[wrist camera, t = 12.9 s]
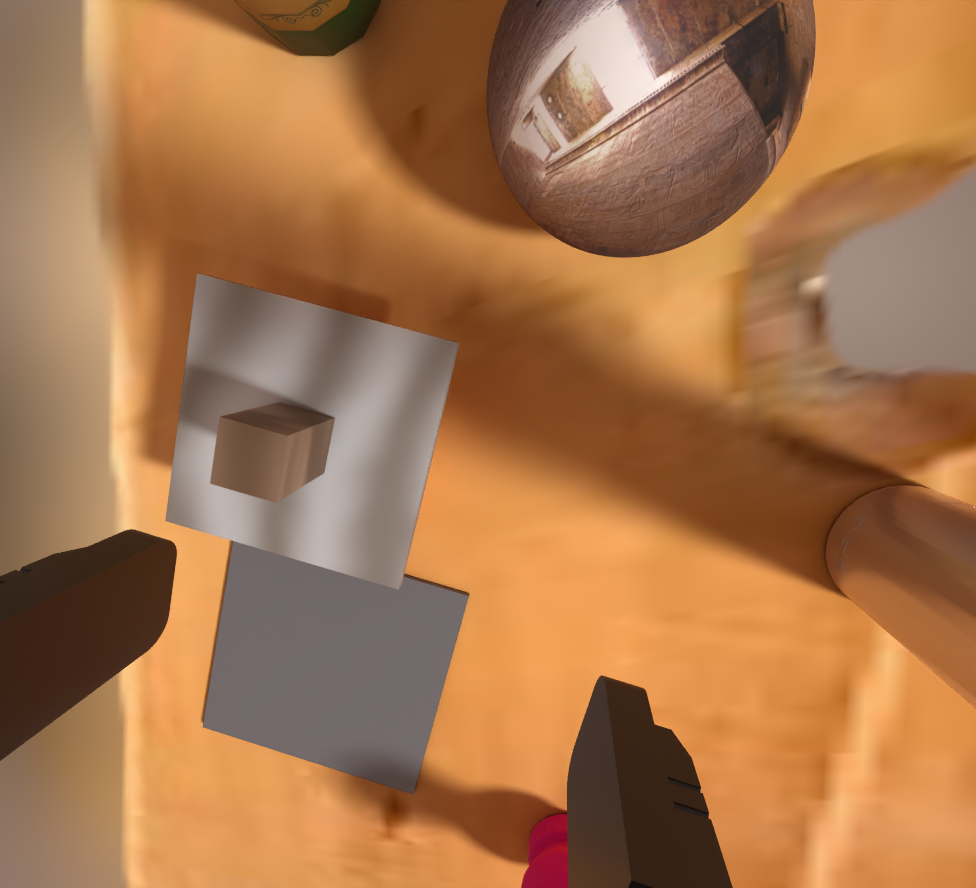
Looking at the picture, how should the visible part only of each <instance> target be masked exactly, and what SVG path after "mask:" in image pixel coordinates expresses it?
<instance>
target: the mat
mask: <svg viewBox="0 0 976 888" xmlns="http://www.w3.org/2000/svg"><path fill="white" fill-rule="evenodd" d="M468 597H469V593H465V592H462V591H459V590H455V589H452V588H449V587H445V586H442V585H439V584H435V583H432V582H428V581H425V580H422V579H418V578H415V577H412V576H408V575H405V574H404V577H403V581H402V584H401V586H400V588H399V590H398V589H394V588H391V587H388V586H384V585H381V584H377V583H374V582H371V581H367V580H364V579H360V578H357V577H354V576H350V575H347V574H344V573H340V572H337V571H333V570H330V569H327V568H323V567H320V566H316V565H313V564H310V563H306V562H303V561H299V560H296V559H293V558H289V557H286V556H283V555H279V554H276V553H272V552H269V551H266V550H262V549H259V548H255V547H252V546H249V545H245V544H242V543H239V542H235V541H233V545H232V551H231V557H230V563H229V569H228V576H227V582H226V588H225V594H224V600H223V606H222V612H221V618H220V624H219V631H218V637H217V643H216V649H215V655H214V661H213V667H212V673H211V679H210V686H209V692H208V698H207V704H206V710H205V716H204V722H203V727H204V728H207V729H210V730H213V731H217V732H220V733H223V734H226V735H229V736H232V737H235V738H238V739H242V740H245V741H248V742H251V743H254V744H257V745H260V746H264V747H267V748H270V749H273V750H276V751H279V752H282V753H285V754H289V755H292V756H295V757H298V758H301V759H304V760H307V761H310V762H314V763H317V764H320V765H323V766H326V767H329V768H332V769H335V770H339V771H342V772H345V773H348V774H351V775H354V776H357V777H361V778H364V779H367V780H370V781H373V782H376V783H379V784H382V785H386V786H389V787H392V788H395V789H398V790H401V791H404V792H407V793H411V794H413V793H414V790H415V786H416V783H417V779H418V776H419V772H420V768H421V765H422V761H423V758H424V754H425V751H426V747H427V743H428V740H429V736H430V733H431V729H432V726H433V722H434V718H435V715H436V711H437V708H438V704H439V700H440V697H441V693H442V690H443V686H444V683H445V679H446V675H447V672H448V668H449V665H450V661H451V658H452V654H453V650H454V647H455V643H456V640H457V636H458V632H459V629H460V625H461V622H462V618H463V615H464V611H465V607H466V604H467V600H468Z"/></svg>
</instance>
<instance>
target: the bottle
mask: <svg viewBox="0 0 976 888" xmlns="http://www.w3.org/2000/svg"><path fill="white" fill-rule="evenodd" d="M234 1H235V2H236V3H237V4H238V5H239V6H240V7H241V8H243V9H244V10H245V11H246V12H247V13H248V14H249V15H250V16H251V17H252V18H253V19H254V20H255V21H256V22H257V23H259V24H260V25H261V26H262V27H263V28H264V29H265V30H266V31H267V32H268V33H269V34H270V35H271V36H273V37H274V38H276V39H277V40H279V41H280V42H282V43H283V44H284V45H286V46H287V47H289V48H290V49H292V50H293V51H295V52H296V53H298V54H299V55H316V56H334V55H335V54H337V53H338V52H340V51H342V50H343V49H345V48H346V47H348V46H349V45H351V44H352V43H354V42H355V41H357V40H358V39H360V38H361V37H363V35H364V33H365V31H366V30H367V28H368V26H369V24H370V22H371V20H372V18H373V16H374V14H375V12H376V10H377V8H378V6H379V4H380V2H381V0H234Z"/></svg>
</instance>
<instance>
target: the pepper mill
mask: <svg viewBox="0 0 976 888" xmlns="http://www.w3.org/2000/svg"><path fill="white" fill-rule="evenodd" d="M521 888H568V830H567V814H557V815H553V816H549V817H546V818H545V819H543V820H542V821H540V822H539V823H538V824H537V825H536V826H535V827H534V829H533V831H532V833H531V835H530V840H529V867H528V869H527V870H526V872H525V874H524V877H523V881H522V887H521Z"/></svg>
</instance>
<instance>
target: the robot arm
mask: <svg viewBox="0 0 976 888" xmlns="http://www.w3.org/2000/svg"><path fill="white" fill-rule="evenodd" d="M176 557H177V549H176V546H175V544H174V543H173V542H172V541H169V540H166V539H163V538H160V537H156V536H153V535H150V534H147V533H144V532H140V531H137V530H132V529H131V530H126V531H123V532H121V533H118V534H116V535H114V536H112V537H109V538H107V539H105V540H102V541H100V542H98V543H95V544H93V545H91V546H88V547H85V548H80V549H75V550H71V551H66V552H61V553H56V554H53V555H50V556H48V557H45V558H43V559H41V560H38V561H36V562H33V563H31V564H29V565H26V566H24V567H22V568H21V570H20V571H17V570H14V571H12V572H9V573H7V574H5V575H2V576H0V761H1V760H2V759H3V758H5V757H6V756H7V755H9V754H10V753H11V752H12V751H14V750H15V749H17V748H18V747H19V746H21V745H22V744H24V743H25V742H26V741H27V740H29V739H30V738H32V737H33V736H34V735H36V734H37V733H38V732H40V731H41V730H42V729H43V728H45V727H46V726H48V725H49V724H50V723H52V722H53V721H54V720H56V719H57V718H58V717H60V716H61V715H62V714H64V713H65V712H66V711H68V710H69V709H70V708H72V707H73V706H74V705H76V704H77V703H78V702H80V701H81V700H82V699H83V698H85V697H87V696H88V695H89V694H91V693H92V692H93V691H95V690H96V689H97V688H98V687H100V686H101V685H102V684H104V683H105V682H106V681H108V680H109V679H111V678H112V677H113V676H115V675H116V674H117V673H119V672H120V671H121V670H123V669H124V668H125V667H127V666H128V665H129V664H131V663H132V662H133V661H135V660H136V659H137V658H139V657H140V656H141V655H143V654H144V653H145V652H147V651H148V650H149V649H150V648H151V647H152V646H153V645H154V644H155V643H156V642H157V640H158V639H159V637H160V636H161V634H162V632H163V630H164V628H165V626H166V624H167V621H168V617H169V610H170V603H171V595H172V588H173V580H174V572H175V565H176ZM825 557H826V563H827V568H828V571H829V573H830V576H831V578H832V580H833V582H834V583H835V584H836V586H837V587H838V588H839V589H840V591H841V592H842V593H844V594H845V595H846V596H847V597H848V598H849V599H850V600H852V601H853V602H854V603H855V604H856V605H857V606H859V607H860V608H861V609H862V610H863V611H864V612H865V613H867V614H868V615H869V616H870V617H871V618H872V619H873V620H874V621H876V622H877V623H878V624H879V625H880V626H881V627H882V628H883V629H885V630H886V631H887V632H888V633H889V634H890V635H891V636H893V637H894V638H895V639H896V640H897V641H898V642H900V643H901V644H902V645H903V646H904V647H905V648H906V649H908V650H909V651H910V652H911V653H912V654H913V655H915V656H916V657H917V658H918V659H919V660H920V661H921V662H923V663H924V664H925V665H926V666H927V667H928V668H930V669H931V670H932V671H933V672H934V673H935V674H936V675H938V676H939V677H940V678H941V679H942V680H943V681H945V682H946V683H947V684H948V685H949V686H950V687H951V688H953V689H954V690H955V691H956V692H957V693H958V694H960V695H961V696H962V697H963V698H964V699H965V700H967V701H968V702H969V703H970V704H971V705H972V706H973V707H975V708H976V507H975V506H973V505H970V504H968V503H965V502H962V501H960V500H957V499H955V498H952V497H950V496H947V495H945V494H942V493H940V492H937V491H935V490H932V489H928V488H925V487H921V486H913V485H897V486H888V487H885V488H881V489H878V490H875V491H872V492H870V493H868V494H866V495H864V496H862V497H860V498H859V499H857V500H856V501H855V502H853V503H852V504H851V505H849V506H848V507H847V508H846V509H845V510H844V511H843V513H842V514H841V515H840V516H839V517H838V518H837V520H836V522H835V523H834V525H833V527H832V529H831V530H830V533H829V537H828V540H827V543H826V556H825ZM700 789H701V786H700V783H699V780H698V777H697V773H696V770H695V767H694V764H693V761H692V758H691V756H690V755H689V754H688V752H687V751H686V749H685V748H684V747H683V745H682V744H681V743H680V741H679V740H678V738H677V737H676V736H675V734H674V733H673V731H672V730H670V729H667V728H664V727H661V726H658V725H655V724H654V721H653V717H652V713H651V709H650V705H649V701H648V697H647V693H646V691H645V689H644V688H641V687H638V686H635V685H631V684H628V683H625V682H622V681H619V680H615V679H612V678H609V677H606V676H600V677H599V678H598V680H597V682H596V684H595V687H594V690H593V693H592V696H591V699H590V702H589V705H588V708H587V711H586V714H585V716H584V719H583V722H582V725H581V728H580V731H579V734H578V737H577V740H576V743H575V746H574V749H573V753H572V757H571V761H570V766H569V772H568V781H567V830H568V888H733V887H732V884H731V881H730V878H729V875H728V871H727V868H726V865H725V862H724V859H723V856H722V852H721V849H720V846H719V843H718V840H717V837H716V834H715V830H714V827H713V824H712V821H711V819H709V818H708V815H709V811H708V808H707V805H706V802H705V799H704V796H703V793H700Z"/></svg>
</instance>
